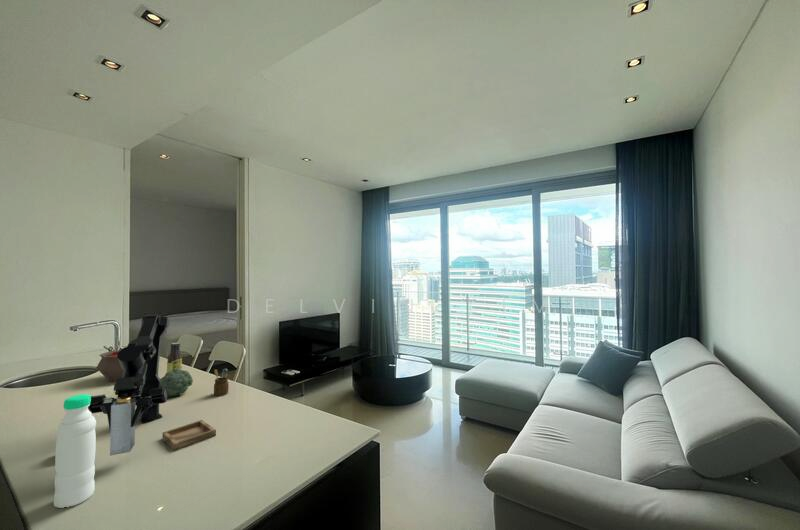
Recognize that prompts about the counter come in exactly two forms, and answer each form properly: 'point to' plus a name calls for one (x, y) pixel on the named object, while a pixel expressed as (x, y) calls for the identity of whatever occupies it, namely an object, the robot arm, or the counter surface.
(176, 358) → the sauce bottle
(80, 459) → the white milk bottle
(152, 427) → the counter surface
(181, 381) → the vegetable
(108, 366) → the brown pot
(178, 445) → the tray
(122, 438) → the grey tall block
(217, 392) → the utensil holder
